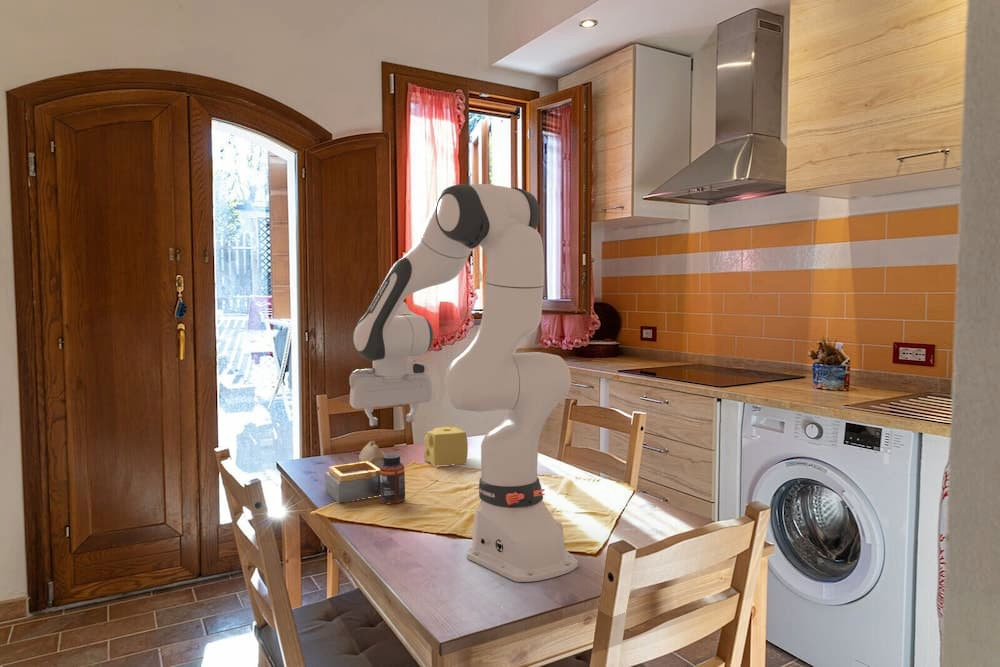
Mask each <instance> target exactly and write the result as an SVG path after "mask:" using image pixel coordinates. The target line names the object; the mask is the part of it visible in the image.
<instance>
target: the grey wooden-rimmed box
mask: <svg viewBox="0 0 1000 667" xmlns="http://www.w3.org/2000/svg"><path fill="white" fill-rule="evenodd" d="M324 474H325V492H326V493H327V494H328V495H330V497H331V498H332V499H333V500H335V501H336V502H337V503H338V502H339V503H340V504H342V503H341V502H346V501H352V500H357V499H362V498H368V497H374V496H379V495H381V484H380V469H379V468H378V467H376V466H375V465H373V464H372V463H370V462H369V461H366V462H360V461H359V462H353V463H347V464H345V463H344V464H340V465H339V464H338V465H332V466H331V465H330V466H328V471H325V473H324ZM352 502H353V501H352ZM339 503H338V504H339ZM346 503H347V502H346Z"/></svg>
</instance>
